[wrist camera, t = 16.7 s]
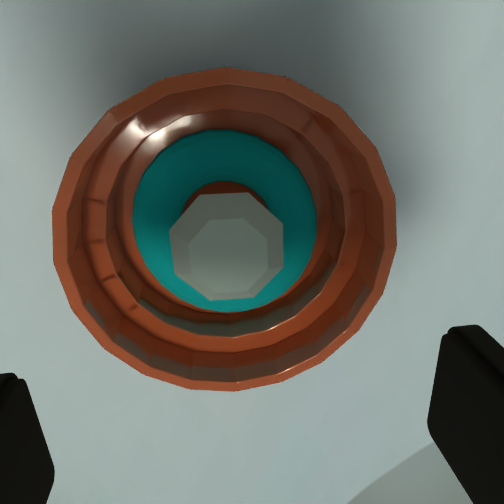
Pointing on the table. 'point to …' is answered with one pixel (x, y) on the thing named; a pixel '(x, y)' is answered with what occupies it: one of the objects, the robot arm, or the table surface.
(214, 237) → the ornament
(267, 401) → the table surface
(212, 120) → the bowl
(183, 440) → the table surface
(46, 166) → the table surface
